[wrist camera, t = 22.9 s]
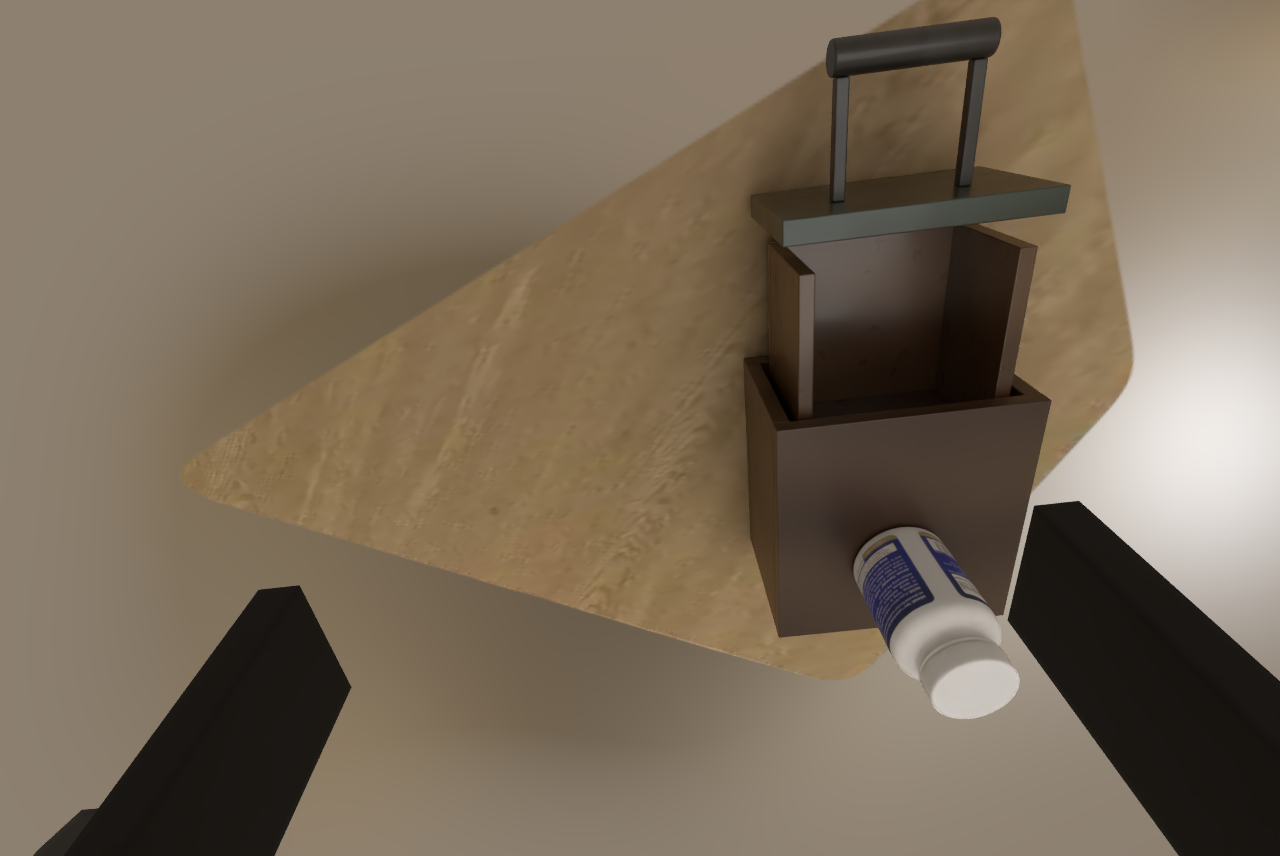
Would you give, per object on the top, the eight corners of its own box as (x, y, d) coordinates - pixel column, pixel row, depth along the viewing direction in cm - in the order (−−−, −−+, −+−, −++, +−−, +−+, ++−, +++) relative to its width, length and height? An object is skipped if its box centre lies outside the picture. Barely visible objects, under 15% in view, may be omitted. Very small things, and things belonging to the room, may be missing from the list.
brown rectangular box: (743, 358, 40) (776, 431, 31) (958, 333, 39) (1052, 400, 31) (750, 538, 47) (778, 638, 38) (933, 518, 47) (1003, 615, 38)
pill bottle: (852, 600, 37) (912, 735, 29) (850, 531, 35) (916, 659, 27) (942, 587, 37) (1028, 720, 29) (946, 516, 34) (1042, 642, 26)
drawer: (746, 53, 31) (781, 42, 24) (999, 19, 31) (1109, -2, 24) (756, 411, 41) (784, 476, 34) (949, 389, 40) (1017, 450, 33)
